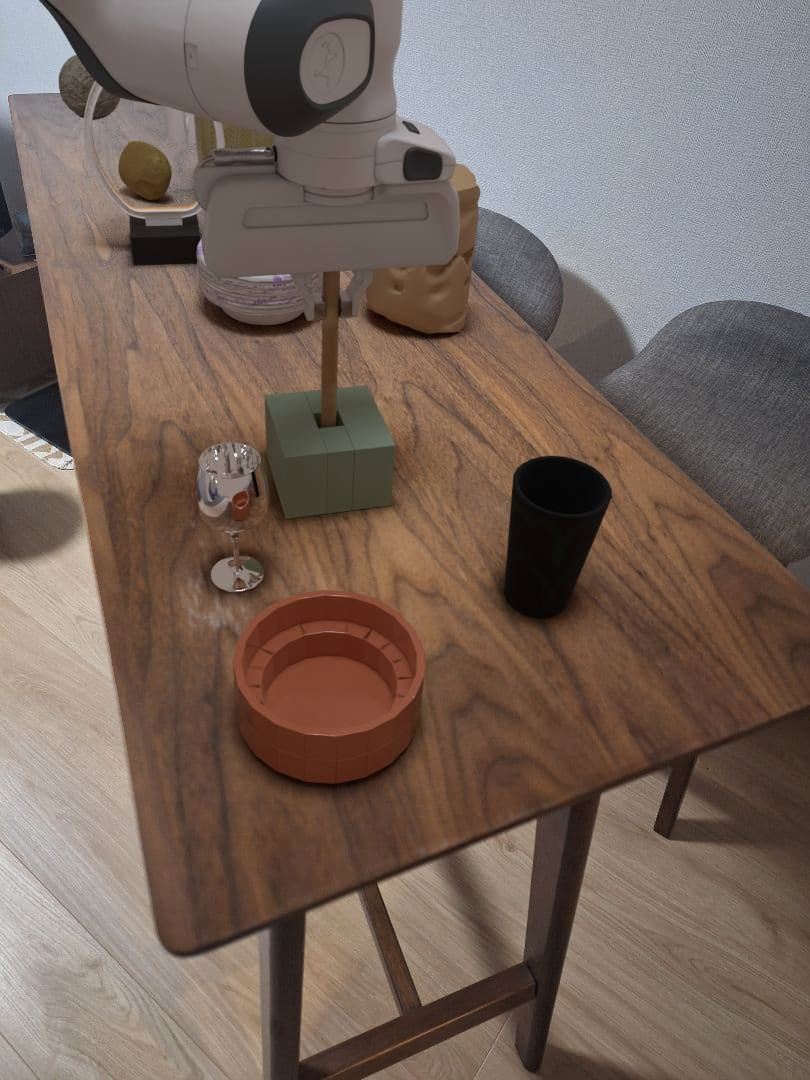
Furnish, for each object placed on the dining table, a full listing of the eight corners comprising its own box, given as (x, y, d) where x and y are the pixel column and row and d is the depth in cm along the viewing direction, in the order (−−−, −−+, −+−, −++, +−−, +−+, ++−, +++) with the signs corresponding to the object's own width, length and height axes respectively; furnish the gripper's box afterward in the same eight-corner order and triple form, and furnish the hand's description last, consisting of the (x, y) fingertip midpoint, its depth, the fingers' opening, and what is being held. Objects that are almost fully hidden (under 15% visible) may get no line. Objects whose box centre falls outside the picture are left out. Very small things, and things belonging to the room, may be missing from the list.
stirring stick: (321, 482, 87) (325, 264, 72) (318, 474, 88) (321, 257, 73) (336, 481, 87) (342, 263, 73) (332, 472, 88) (338, 256, 74)
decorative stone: (62, 126, 155) (51, 62, 148) (66, 110, 161) (55, 48, 154) (125, 127, 157) (117, 63, 150) (126, 111, 163) (118, 49, 156)
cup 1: (161, 149, 150) (154, 84, 143) (169, 125, 159) (163, 62, 152) (211, 152, 151) (207, 86, 144) (217, 127, 160) (213, 65, 153)
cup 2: (598, 596, 79) (631, 487, 71) (545, 641, 74) (574, 530, 66) (527, 551, 82) (551, 443, 74) (473, 592, 78) (492, 481, 70)
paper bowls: (306, 347, 106) (306, 284, 101) (181, 326, 108) (175, 262, 102) (339, 290, 117) (341, 230, 112) (226, 272, 119) (222, 212, 114)
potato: (122, 188, 137) (114, 133, 132) (174, 188, 138) (169, 133, 133) (120, 207, 132) (112, 150, 126) (174, 207, 133) (169, 150, 128)
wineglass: (267, 600, 75) (262, 486, 67) (197, 595, 75) (184, 480, 67) (275, 553, 80) (272, 440, 72) (209, 548, 79) (198, 435, 71)
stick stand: (285, 519, 83) (284, 457, 78) (266, 455, 90) (264, 394, 86) (391, 505, 86) (396, 444, 81) (364, 444, 93) (367, 385, 88)
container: (442, 288, 120) (457, 147, 108) (481, 335, 111) (502, 187, 99) (351, 298, 116) (356, 153, 104) (384, 347, 107) (394, 195, 95)
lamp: (227, 234, 128) (211, -29, 107) (233, 261, 121) (218, -11, 100) (102, 237, 124) (61, -34, 103) (101, 266, 118) (57, -16, 97)
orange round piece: (254, 806, 61) (251, 753, 57) (226, 659, 70) (221, 605, 66) (441, 766, 64) (449, 714, 60) (390, 631, 74) (395, 578, 70)
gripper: (196, 165, 62) (210, 344, 71) (476, 157, 68) (456, 325, 77) (185, 133, 67) (200, 306, 76) (449, 128, 72) (433, 290, 81)
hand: (330, 316), depth 76 cm, fingers closed on stirring stick, 1 cm apart
